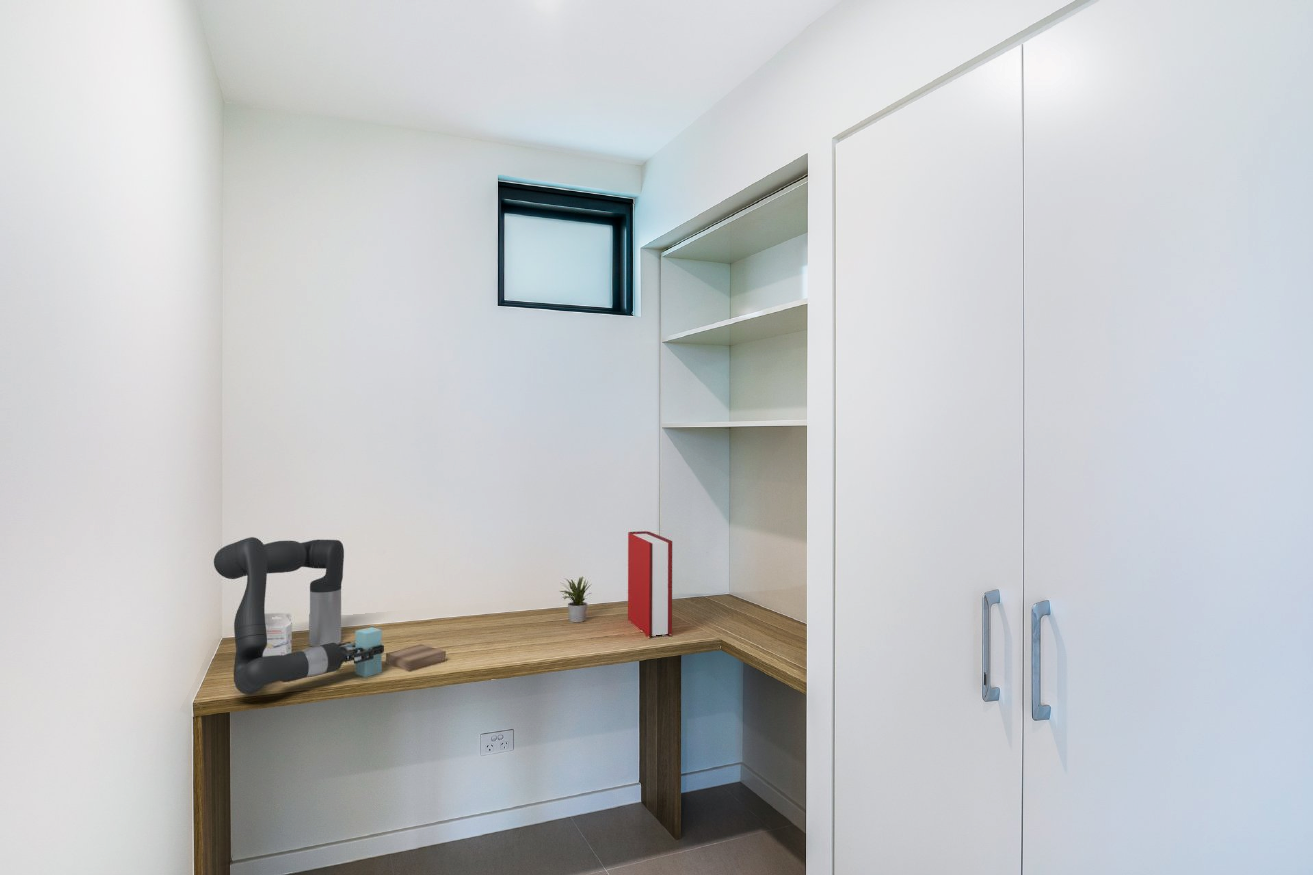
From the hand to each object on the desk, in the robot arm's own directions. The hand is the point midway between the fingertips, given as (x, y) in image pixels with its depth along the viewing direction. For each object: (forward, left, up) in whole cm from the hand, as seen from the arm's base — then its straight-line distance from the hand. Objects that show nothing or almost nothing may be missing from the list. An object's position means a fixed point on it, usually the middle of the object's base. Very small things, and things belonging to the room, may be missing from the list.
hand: (376, 646), depth 209 cm
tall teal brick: (0, -2, -7) cm, 7 cm away
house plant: (+4, +78, -7) cm, 78 cm away
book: (+31, +86, -7) cm, 91 cm away
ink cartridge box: (-28, -15, -7) cm, 33 cm away
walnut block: (+2, +12, -7) cm, 14 cm away
